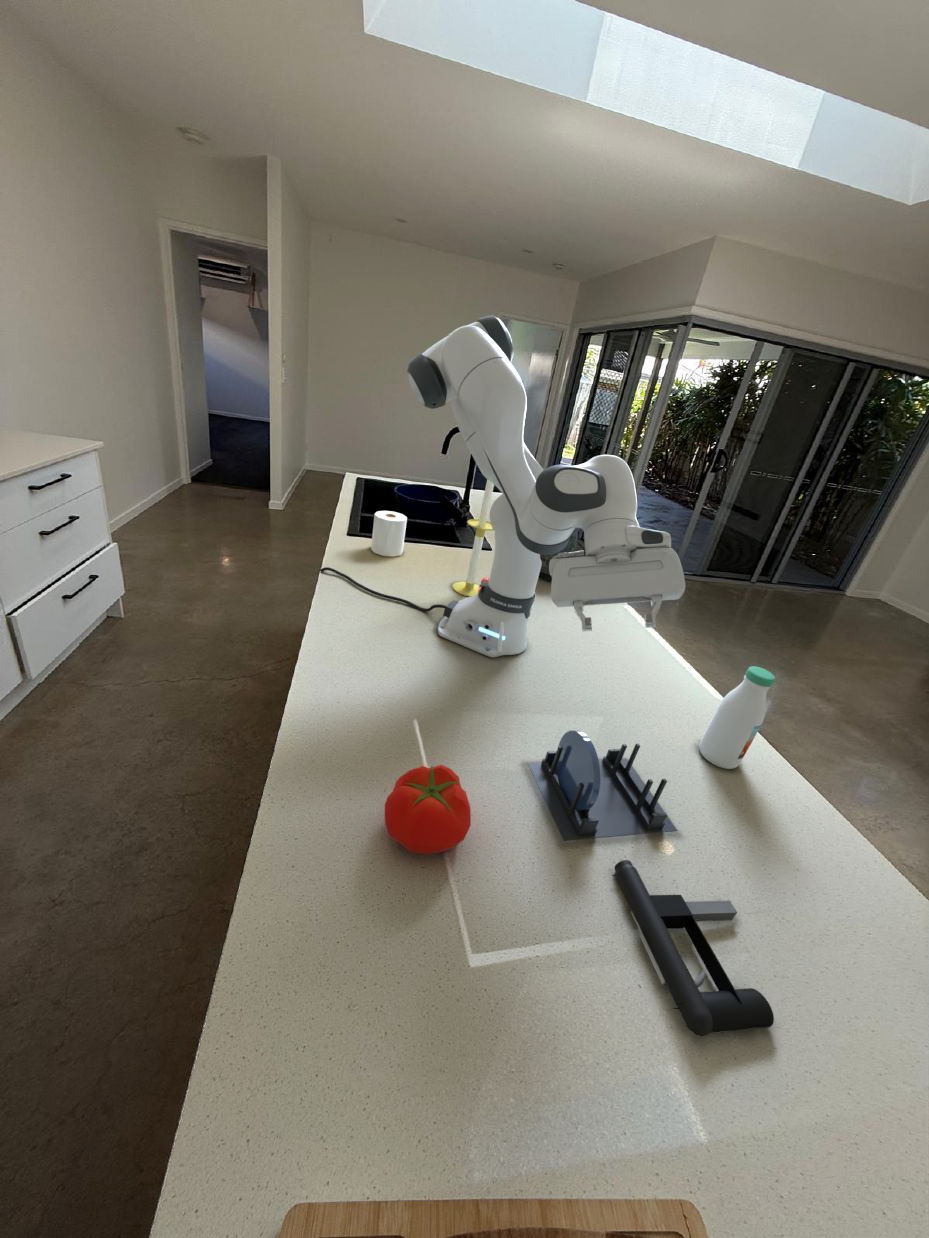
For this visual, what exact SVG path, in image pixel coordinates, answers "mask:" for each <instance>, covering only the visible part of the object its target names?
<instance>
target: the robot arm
mask: <svg viewBox="0 0 929 1238" xmlns="http://www.w3.org/2000/svg"><path fill="white" fill-rule="evenodd" d="M514 352H515V351H514V345H513V340H512V336H511V334H510V332H509V330H508V328H507V327H506V326H505V324H504V322H503V321H502V320H501V319H500V318H498V316H497V317H496V316H495V315H487V316H483V317H479V318H477V319H476V321H475V322H472V323H470V324H467V325H462V326H460V327H458V328H456V329H454V330H453V331H452V332H450V333H448V334H447V335H446V336H445V337H444V338H441V339H440V340H438V341H437V342H436V343H434V344H433V345H431V346H430V347H429V348H427V349H425V351H424V352H422V353H421V352H419V353H418V354H417V355H415V356H414V357H413V358H412V359H411V361H409V363H408V366H407V371H406V372H407V374H408V375H407V376H408V383H409V387H410V390H411V392H412V394H413V395H414V397H415V398H416V400H418V402H420V403H421V404H423V406H424V407H425V408H428V409H431V410H434V409H439V408H441V407H445V406H446V404H447V403H450V407H451V408H450V409H451V411H452V415H453V417H454V420H455V424H456V425H457V428H458V430H459V433H460V435H461V437H462V439H463V441H464V443H465V445H466V446H467V449H468V450H469V452H470V454H471V456H472V458H473V460H474V462H475V463H476V466H477V467H478V469H479V471H480V472H481V475H482V476H483V477H484V478H485V479H486V480H487V479H488V480H490V481H491V482H492V483H493V484H494V487H496V488H497V489H498V490H499V492H500V493H501V494H500V495H499V496H498V497H497V498H496V499H495V500H494V501H493V503H492V504H491V505H490V506H491V507H490V508H489V522H490V523H491V526H492V528H493V530H492V531H494V555H493V559H492V560H493V561H492V565H491V570H490V575H489V577H488V576H484V577H483V578H482V579H481V581H480V584H479V589H478V594H476V595H474V596H471V597H468V596H467V597H466V598H463V599H460V600H459V601H457V600H455V599H453V600H452V601H450V602H448V603H447V604H439V603H438V604H433V605H431V606H430V607H428V608H425V607H421V606H419V605H417V604H415V603H413V602H411V601H409V600H407V599H404V598H400V597H397V596H393V595H388V594H385V593H382V592H378V591H376V590H374V589H371V588H369V587H367V586H365V585H363V584H361V583H359V582H357V581H356V580H354V579H353V578H351V577H350V576H349V575H347V574H346V573H345V574H344V573H342V572H340V571H339V570H337V569H335V568H331V567H327V566H326V567H325V566H324V567H322V568H321V569H319V572H324V571H328V572H329V571H330V572H332V573H335V574H336V575H338V576H340V577H343V578H345V579H346V580H348V581H349V582H351V583H352V584H354V585H355V586H357V587H358V588H360V589H362V590H364V591H366V592H369V593H370V594H373V595H375V596H378V597H381V598H384V599H388V600H394V601H397V602H400V603H404V604H407V605H409V606H410V607H412V608H414V609H416V610H418V611H422V612H427V613H429V612H431V611H432V610H434V609H436V608H437V609H444V610H443V615H442V616H443V617H442V619H441V620H440V622H439V623H438V626H437V634H438V636H439V637H441V638H444V639H446V640H449V641H451V642H453V643H456V644H458V645H461V646H463V647H465V648H467V649H470V650H472V651H474V652H477V653H479V654H482V655H484V656H486V657H489V658H497V657H502V656H512V655H513V656H515V655H519V654H521V653H523V652H525V651H526V649H527V647H528V641H527V640H528V638H527V637H528V636H527V635H528V623H529V618H530V616H531V615H532V611H533V608H534V605H535V598H536V592H535V591H536V589H537V584H538V580H539V578H538V577H539V573H540V569H541V565H542V562H541V559H540V554H541V555H551V554H555V553H558V552H560V551H561V550H563V549H564V548H565V547H566V545H567V544H568V542H569V540H570V537H571V535H572V533H573V531H574V529H575V528H578V529H581V530H582V531H583V539H584V550H575V552H570V553H565V552H564V553H559V554H558V555H557V556H554V557H553V558H552V559H551V560H550V562H549V573H550V575H551V577H552V582H551V585H550V597H551V602H552V603H553V604H554V605H555V606H556V607H557V608H571V607H573V610H574V613H575V615H576V616H577V617H578V619H579V620H580V622H581V630H582V632H592V631H593V626H592V617H588V616H587V617H586V615H585V614H584V613H583V612H584V607H586V606H600V605H617V604H630V603H645V602H650V607H651V608H652V610H651V612H650V613H645V614H644V622H645V623H644V626H645V627H644V628H645V629H651V628H652V629H653V628H656V627H657V618H656V616H657V615H658V613H659V611H660V608H661V607H662V603H663V601H676V600H679V599H681V598H682V596H683V595H684V593H685V590H686V579H685V574H684V570H683V566H682V562H681V560H680V557H679V555H678V553H677V551H676V550H674V549H673V548H672V538H671V534H670V533H669V532H667V531H662V530H656V529H650V528H644V527H640V524H639V521H638V519H637V510H638V498H637V490H636V484H635V480H634V475H633V472H632V470H631V469H630V466H629V465H628V463H627V462H626V461H625V460H624V459H623V458H621V457H619V456H617V455H612V454H600V455H596V456H593V457H592V458H590V459H589V460H587V461H586V462H584V463H580V464H576V465H568V464H555V465H551V466H548V467H547V468H545V469H544V468H543V467H542V465H541V464H539V462H538V461H537V460H536V459H535V457H534V456H533V454H532V453H531V452H530V450H529V448H528V447H527V445H526V443H525V442H524V431H525V422H526V421H525V420H526V414H527V404H528V403H527V402H528V400H527V399H528V398H527V393H526V389H525V387H524V386H525V385H524V384H523V382H522V379H521V376H520V374H519V372H518V371H517V370H516V368H515V367H514V365H513V363H512V361H513V358H514ZM556 558H558V559H556Z"/></svg>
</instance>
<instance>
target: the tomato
mask: <svg viewBox="0 0 929 1238" xmlns="http://www.w3.org/2000/svg"><path fill="white" fill-rule="evenodd" d="M469 801H470V800H469V798H468V795H467V792H466V791H465V789H463V788H462V785H461V782H460V777H459V776H458V775H457V773H455V771H453V769H451V768H450V767H448V766H445V765H443V764H438V765H436V766H431V767H427V766H426V765H421V766H418V767H415V768H412V769H409V770H408V771H406V772H405V773H403V774H402V775H401V776H400V777H399V778H398V779H397V780H396V781H395V783H394V787H393V789H392V791H391V793H390V794H389V795H387V797H386V800H385V803H384V825H385V827H386V830H387V834H388V837H389V838H390V839H391V840H394V841H395V842H397V843H399V844H400V845H402V846H403V847H404V849H406V850H408V851H409V852H410V853H415V854H423V855H429V854H438V853H439V854H440V853H442V852H445V851H447V850H450V849H452V848H455V847H457V846H459V844H460V843H462V842H463V841H464V840H465V838H466V836H467V834H468V831H469V830H470V827H471V824H472V823H471V821H472V820H471V819H472V815H471V805H470V802H469Z"/></svg>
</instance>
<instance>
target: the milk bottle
mask: <svg viewBox="0 0 929 1238" xmlns="http://www.w3.org/2000/svg"><path fill="white" fill-rule="evenodd" d="M775 682H776V677H775V675H774V674H773V673H772V672H770V671H769V670H767V669H765V668H763V667H759V666H754V665H753V666H749V667H748V668H747V669H746V671H745V675H743V681H742V682H740V684H739V685H737V686H736V687H735V688H734V689H732V690H730V691H729V692H728V693H727V694H726V695H725V696H724V697H723V699H722V700H721V702H720V703H719V704H718V707H717V709H716V710H715V713H714V714H713V716H712V717H711V719H710V722H709V724H708V725H707V728H706V730H705V732H704V734H703V735H702V738H701V740H700V742H699V745H698V750H699V753H700V754H701V755H702V757H703V758H704V759H706V760H707V761H708V762H709V763H711V764H713V765H714V766H716V767H719V768H722V769H726V770H732V769H736V768H737V767H739V765H740V764H741V762H742V761H743V759H744V757H745V755H746V754H747V752H748V750H749V748H750V747H751V744H752V743H753V741H754V739H755V738H756V737H757V734H758V732H759V731H760V729H761V727H762V724H763V722H764V720H765V717H766V711H767V694H768V691H769V690H770V689H771V688H772V686H773V684H774V683H775Z"/></svg>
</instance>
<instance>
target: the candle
mask: <svg viewBox="0 0 929 1238" xmlns="http://www.w3.org/2000/svg"><path fill="white" fill-rule="evenodd" d="M494 487H495V485H494V484H493V483H492V482H491V481H490V480H488V479H487V478H486V483H485V489H484V493H483V498H482V503H481V508H480V513H479V518H478V519H477V518H475V519H474V518H471V519H470V518H469V519H468V520H467V521H466V524H467V525H468V526H470V527H471V528H474V529H476V530H475V534H474V535H475V536H474V540H473V544H472V549H471V555H470V561H469V564H468V565H469V566H468V570H467V575H466V581H457V582H454V583H453V584H452V590H453V591H454V592H456V594H459V595H461V596H465V597H467V598H468V597H471V596H474V595H476V594H478V589H479V586H480V584H477V583H475V582H476V577H477V573H478V568H479V564H480V557H481V554H482V548H483V542H484V540H485V539H484V538H485V534H486V531H489V532H490V531H491V532H492V531H494V530H493V528H492V526H491V523H490V521H488V516H489V513H490V508H491V507H490V506H491V502H492V496H493V491H494Z"/></svg>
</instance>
